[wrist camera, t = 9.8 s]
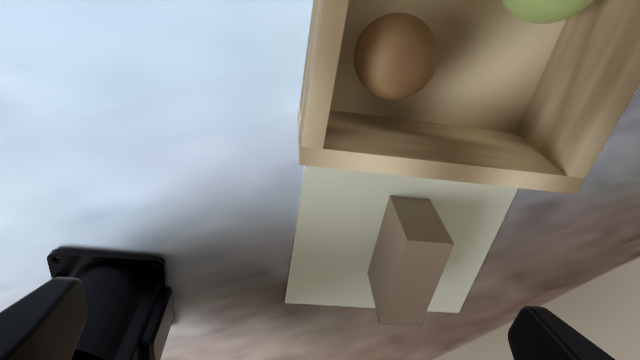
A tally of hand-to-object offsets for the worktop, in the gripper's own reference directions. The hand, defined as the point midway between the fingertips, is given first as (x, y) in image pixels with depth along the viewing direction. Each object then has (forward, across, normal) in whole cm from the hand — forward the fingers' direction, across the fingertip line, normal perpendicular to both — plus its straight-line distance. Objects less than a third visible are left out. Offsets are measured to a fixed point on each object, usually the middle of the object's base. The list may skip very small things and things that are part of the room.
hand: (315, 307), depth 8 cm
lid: (+14, -7, +8) cm, 17 cm away
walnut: (+12, -4, -3) cm, 13 cm away
